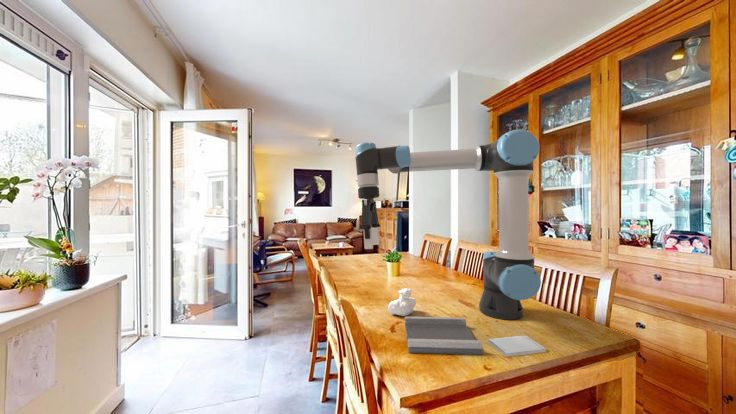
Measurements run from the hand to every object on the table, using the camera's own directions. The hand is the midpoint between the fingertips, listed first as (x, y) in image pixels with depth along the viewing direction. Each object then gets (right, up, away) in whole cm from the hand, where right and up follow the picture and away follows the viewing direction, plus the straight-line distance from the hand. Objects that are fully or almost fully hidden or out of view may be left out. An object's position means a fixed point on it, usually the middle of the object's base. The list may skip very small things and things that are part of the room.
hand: (372, 246), depth 96 cm
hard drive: (+41, -27, -18) cm, 52 cm away
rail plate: (+20, -26, -12) cm, 35 cm away
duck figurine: (+12, -27, +7) cm, 30 cm away
